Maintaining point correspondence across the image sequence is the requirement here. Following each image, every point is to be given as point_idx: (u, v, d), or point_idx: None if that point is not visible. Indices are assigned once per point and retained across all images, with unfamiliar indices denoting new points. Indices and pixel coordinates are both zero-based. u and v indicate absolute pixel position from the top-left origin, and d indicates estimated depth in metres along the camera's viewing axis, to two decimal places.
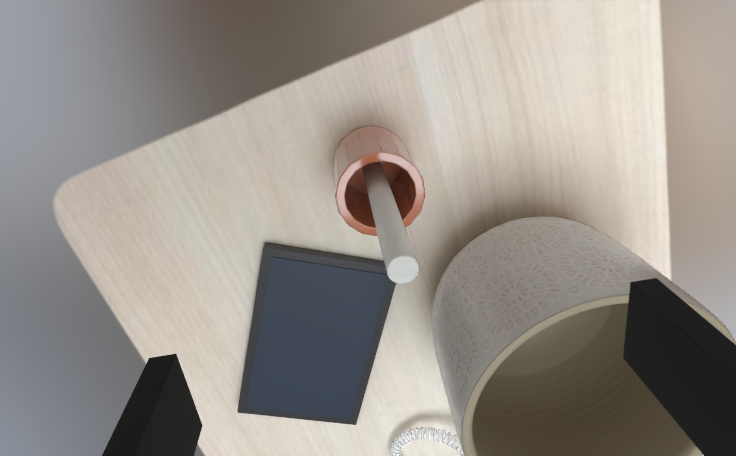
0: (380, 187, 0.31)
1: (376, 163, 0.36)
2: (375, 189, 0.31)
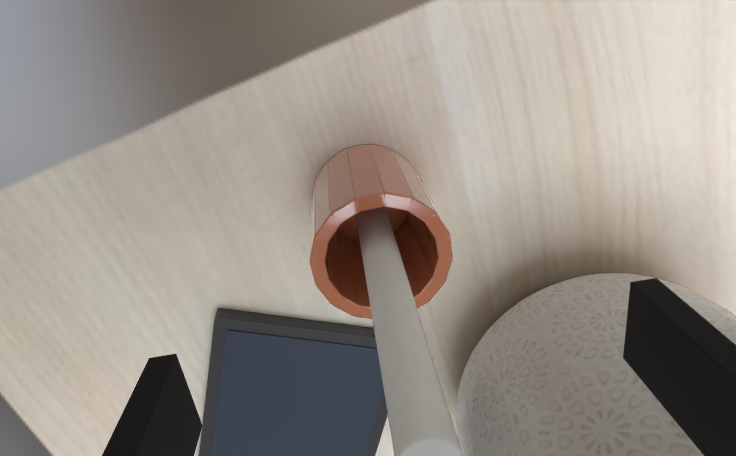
0: (381, 250, 0.19)
1: None
2: (374, 252, 0.19)
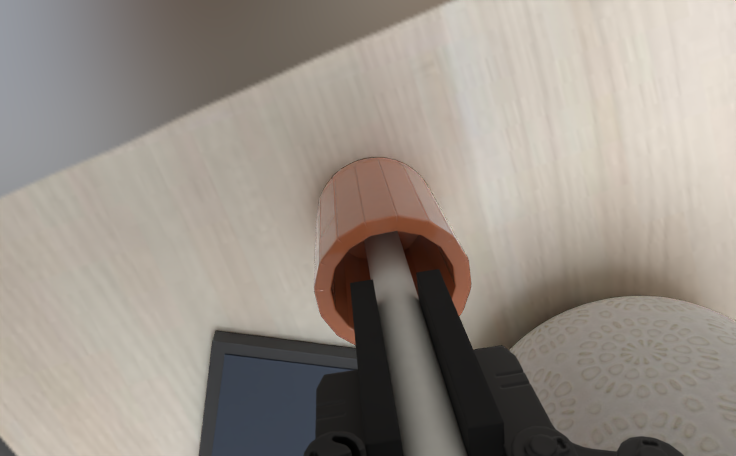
0: (393, 278, 0.17)
1: None
2: (384, 281, 0.17)
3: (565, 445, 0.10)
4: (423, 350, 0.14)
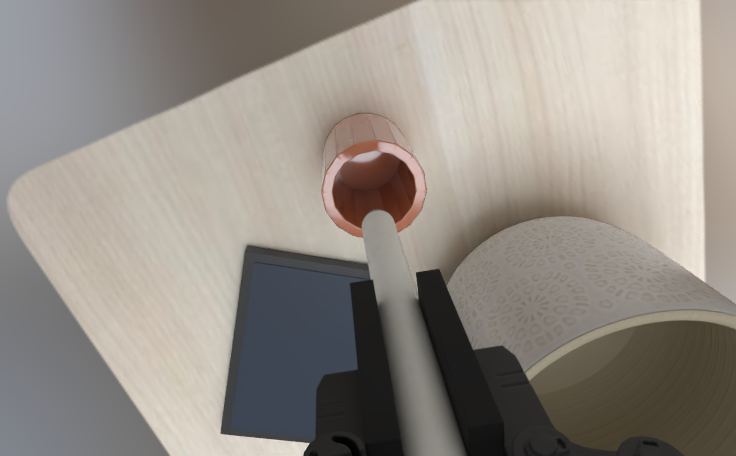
0: (393, 278, 0.17)
1: (384, 220, 0.22)
2: (384, 281, 0.17)
3: (565, 445, 0.10)
4: (423, 350, 0.14)
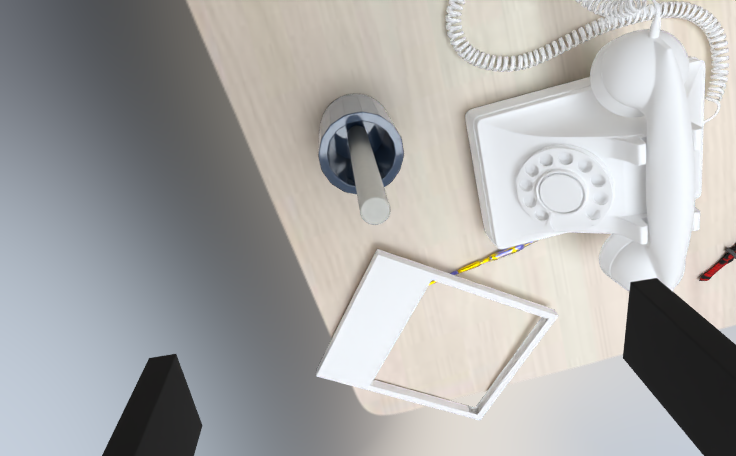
0: (361, 147, 0.33)
1: (360, 129, 0.37)
2: (356, 148, 0.33)
3: None
4: (371, 166, 0.29)
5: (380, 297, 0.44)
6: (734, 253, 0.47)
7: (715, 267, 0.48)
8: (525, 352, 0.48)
